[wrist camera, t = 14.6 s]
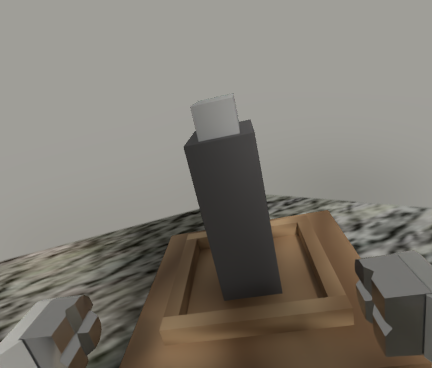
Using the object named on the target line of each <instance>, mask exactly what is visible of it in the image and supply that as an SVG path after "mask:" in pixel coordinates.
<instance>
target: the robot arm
mask: <svg viewBox="0 0 432 368" xmlns="http://www.w3.org/2000/svg"><path fill="white" fill-rule="evenodd" d="M355 272H356V274H357V276H358V278H359V281H358V282H357V284H356V292H357V298H358V302H359V305H360V308H361V310H362V313H363V315H364V317H365V319H366V320H367V321H369V322H370V323H372V324H373V332H374V336H375V338H376V339H377V341H378V343H379V345H380V347H381V349H382V351H383V352H384V354H385V356H386V357H396V356H414V355H424V357H425V358H426V359H428V360H429V361H430V362H432V265H431V264H430V263H429V262H428V261H427V260H426V259H425V258H424V257H423V256H421V255H420V254H419V253H418V252H417V251H414V250H411V251H405V252H399V253H394V254H390V255H382V256H375V257H368V258H361V259H355ZM92 306H93V304H92V302H91V300H90V298H89V297H88V296H85V295H79V296H70V297H60V298H53V299H44V300H41V301H39V302H37V303H36V304H35V305H34V306H33V307H32V308H31V309H30V310H29V311H28V313H27V314H26V315H25V316H24V317H23V318H22V319H21V320H20V322H19V323H18V324H17V325H16V326H15V327H14V328H13V329H12V330H11V332H10V333H9V334H8V335H7V336H6V337H5V338H4V339H3V340H2V342H0V368H86V366H87V364H88V356H87V355H88V354H90V353H91V352H92V351H93V350H94V349H95V348H96V346H97V344H98V342H99V340H100V336H101V330H102V329H101V322H100V320H99V317H98V315H96V314H95V313H93V312H92V311H91V309H92Z"/></svg>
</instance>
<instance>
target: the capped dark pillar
mask: <svg viewBox="0 0 432 368" xmlns="http://www.w3.org/2000/svg"><path fill="white" fill-rule="evenodd" d="M190 108H191V112H192V116H193V121H194V125H195V129H196V131H195V132H194V133H193V135H192V136H191V138H190V139H189V140H188V142H187V143H186V144H185V146H184V150H185V154H186V158H187V162H188V165H189V169H190V173H191V177H192V181H193V185H194V188H195V192H196V196H197V200H198V204H199V207H200V211H201V215H202V219H203V223H204V226H205V230H206V234H207V238H208V242H209V245H210V249H211V253H212V257H213V261H214V264H215V268H216V272H217V276H218V280H219V283H220V287H221V291H222V295H223V298H224V301H227V300H235V299H243V298H251V297H258V296H266V295H274V294H282V293H283V292H282V287H281V281H280V275H279V269H278V264H277V258H276V252H275V247H274V241H273V235H272V229H271V224H270V218H269V212H268V207H267V201H266V195H265V190H264V184H263V178H262V172H261V167H260V161H259V155H258V150H257V144H256V138H255V133H254V129H253V126H252V123H251V120H246V121H241V122H239V120H238V115H237V110H236V105H235V99H234V94H233V93H232V94H228V95H224V96H220V97H215V98H211V99H206V100H201V101H198V102H196V103H195V104H193V105H192V106H191V107H190Z"/></svg>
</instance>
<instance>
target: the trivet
mask: <svg viewBox="0 0 432 368" xmlns="http://www.w3.org/2000/svg"><path fill="white" fill-rule="evenodd" d="M270 224H271V229H272V235H273V241H274V247H275V252H276V258H277V264H278V269H279V275H280V281H281V287H282V292H283V293H282V294H274V295H266V296H258V297H251V298H243V299H235V300H227V301H224V298H223V295H222V291H221V287H220V283H219V280H218V276H217V272H216V268H215V264H214V261H213V257H212V253H211V249H210V245H209V242H208V238H207V234H206V230H203V231H197V232H191V233H185V234H179V235H173V236H171V239H170V241H169V244H168V246H167V249H166V251H165V254H164V256H163V259H162V261H161V264H160V266H159V269H158V271H157V274H156V276H155V279H154V281H153V284H152V286H151V289H150V291H149V294H148V296H147V299H146V301H145V304H144V306H143V309H142V311H141V314H140V316H139V319H138V321H137V324H136V326H135V329H134V331H133V334H132V336H131V339H130V341H129V344H128V346H127V349H126V351H125V354H124V356H123V359H122V361H121V364H120V366H119V368H432V362H430V361H429V360H428V359H426V358H425V357H424V355H414V356H396V357H386V356H385V354H384V352H383V351H382V349H381V347H380V345H379V343H378V341H377V339H376V338H375V336H374V332H373V324H372V323H370V322H369V321H367V320H366V319H365V317H364V315H363V313H362V310H361V308H360V305H359V302H358V298H357V292H356V284H357V282H358V281H359V278H358V276H357V274H356V272H355V259H361V258H360V257H359V255H358V254H357V252H356V251H355V249H354V248H353V246H352V245H351V243H350V242H349V240H348V239H347V238H346V236H345V235H344V233H343V232H342V230H341V229H340V227H339V226H338V224H337V223H336V221H335V220H334V218H333V217H332V216H331V214H330V213H329V211H328V210H326V211H320V212H314V213H307V214H301V215H295V216H289V217H283V218H277V219H271V220H270Z"/></svg>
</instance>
